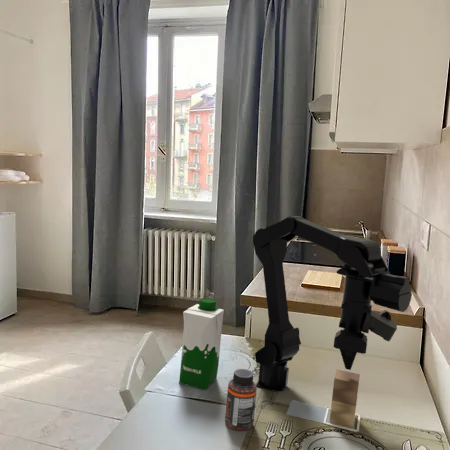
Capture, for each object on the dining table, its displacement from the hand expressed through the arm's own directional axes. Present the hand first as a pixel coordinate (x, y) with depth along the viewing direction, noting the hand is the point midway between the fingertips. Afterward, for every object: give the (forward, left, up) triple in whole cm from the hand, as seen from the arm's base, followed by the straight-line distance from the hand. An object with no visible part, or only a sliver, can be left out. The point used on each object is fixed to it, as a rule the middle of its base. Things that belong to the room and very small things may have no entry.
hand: (348, 368), depth 99 cm
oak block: (0, 0, -12) cm, 12 cm away
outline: (0, 0, -12) cm, 12 cm away
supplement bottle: (-20, -12, -12) cm, 26 cm away
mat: (-4, 0, -12) cm, 13 cm away
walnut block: (0, 0, -7) cm, 7 cm away
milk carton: (-35, +2, -12) cm, 37 cm away
